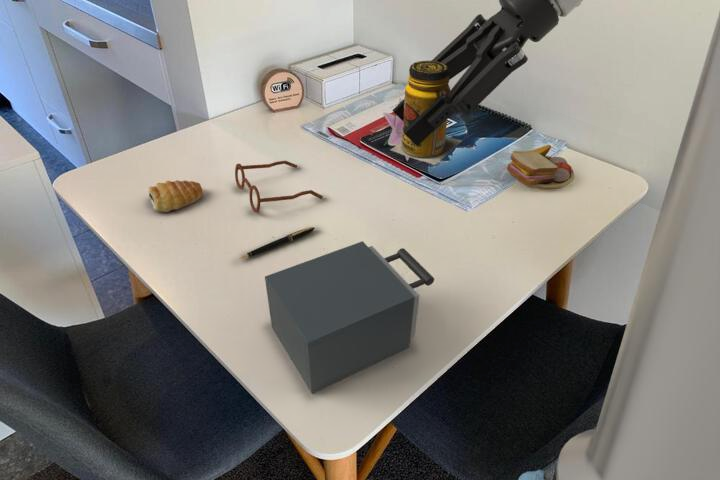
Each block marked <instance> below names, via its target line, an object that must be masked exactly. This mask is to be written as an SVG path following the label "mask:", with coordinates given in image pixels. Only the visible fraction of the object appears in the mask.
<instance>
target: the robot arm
mask: <svg viewBox="0 0 720 480" xmlns="http://www.w3.org/2000/svg"><path fill="white" fill-rule="evenodd" d="M583 1H584V0H498V3H499V5H500V6H501V7H500V10H499V11H498V12H496V13H495V14H493V15H492V16H490V17H488V18H487V19H486V18H485V17H484V16H483V14H480V13H479V14H477V15H476V16H475V17H474V18H473V20H472V21H471V22H470V23H469V24H468V26H467V27H466V28H465V29H464V30H462V32H460V33H459V34H458V35H457V36H456V37H455V38H454V39H453V40H452V41H451V42H450V43H449V44H447V46H446V47H444V48H443V49H442V50H441V51H440V52H439V53H437V55H435V56H434V58H433V59H432V60H431V61H437V62H441V63H444V64H446V65H447V66H448V67H449V70H450V74H449V81H451V80H452V79H454V78H455V77H456V76H457V75H459V74H460V73H462V72H464V73H463V74H462V76H461V77H460V78H459V79H458V80H457V82H456V83H455V84H454V86H453V87H452V88H450V92H449V93H448V94H447V95H446V94H441V96H440V97H439V98H438V99H437V100H436V101H435V102H434V103H433V104H432V105H431V106H430V107H429V108H428V109H427V110H425V111H424V112H423V113H422V114H421V115H420V116H419V117H418V118H417V119H416V120H415V121H414V122H413V123H412V124H411V125H410V126H409V127H407V128H406V129H405V130H404V131H403V132H404V134H405V135H406V136H407V137H408V138H409V139H410V140H411V141H412V142H413V143H414V144H416V145H417V146H418V145H419V144H420V143H421V142H422V141H424V140H425V139H426V138H427V137H428V136H429V135H430V134H431V133H432V132H433V131H434V130H435V129H437V128H438V127H439V126H440V125H442V124H443V123H444V122H445V121H446V120H447V121H448V120H449V118H451V116H453V115H454V114H462V115H463V116H464V117H466V116H468V115H470V114H471V112H473V111H474V110H475V109H476V108H477V107H478V106H479V105H480V104H481V103H482V102H483V101H484V100H485V99H486V98H488V97H489V95H490V94H491V93H492V92H494V91H495V90H496V89H497V88H498V87H499V85H501V84H502V83H503V82H504V81H505V80H506V79H507V78H508V77H509V76H510V75H511V74H512V73H513V72H515V71H516V70H517V69H519V68H521V67H522V66H523V65H525V64H526V63H527V62H528V60H529V58H528V56H527V55H526V53H525V52H524V51H523V47H524V46H525V44H526V43H527V41H528V40H530V41H531V42H533V43H538V42H540V41H541V40H543V38H545V37H546V36H547V35H548V34H549V33H550V32H551V31H552V30H554V28H556V27H557V26H558V25H559V21H560V18H559V17H561V18H566V17H567V16H568V15H569V14H571V12H573V10H575V9H576V8H578V7H579V6H580V5H581V4H582V2H583ZM464 70H465V71H464ZM404 99H405V97H403V99H402V101H401V102H400V103H399V102H398V104H397V105H396V106H395V107H393V108H392V113H394V114H395V116H396V115H397V116H398V117H399V118H400V119H401V120H402V121H403V119H404V116H403V114H404V101H405V100H404ZM657 217H658V218H657V221H656V224H655V228H654V231H653V234H652V238H651V242H650V245H649V248H648V252H647V255H646V259H645V261H644V265H643V269H642V272H641V275H640V277H639V282H638V285H637V288H636V292H635V295H634V298H633V302H632V305H631V309H630V311H629V315H628V319H627V322H626V325H625V328H624V329H625V330H624V333H623V336H622V339H621V343H620V346H619V348H618V349H619V350H618V353H617V356H616V360H615V364H614V366H613V370H612V374H611V376H610V380H609V383H608V386H607V390H606V392H605V396H604V400H603V403H602V406H601V410H600V414H599V418H598V421H597V424H596V427H595V428H592V429H587V430H585V431H582V432H580V433H578V434H576V435H575V436H572V437H571V438H569V440H568V441H567V442H566V443H564V445H563V447H562V448H561V450H560V452H559V455H558V457H557V461H556V464H555V468H554V472H553V474H549V473H547V471H546V470H542V469H538V470H536V471H526V472H523V473H522V474H521V475H520V476H519V477H518V479H517V480H720V11H718V15H717V19H716V22H715V25H714V29H713V33H712V35H711V39H710V42H709V46H708V48H707V52H706V56H705V59H704V62H703V66H702V69H701V72H700V77H699V79H698V83H697V86H696V90H695V93H694V96H693V100H692V103H691V106H690V110H689V113H688V117H687V120H686V124H685V127H684V129H683V133H682V137H681V140H680V143H679V146H678V151H677V153H676V157H675V160H674V163H673V166H672V171H671V174H670V178H669V181H668V184H667V188H666V190H665V194H664V197H663V200H662V204H661V208H660V211H659V214H658V216H657Z"/></svg>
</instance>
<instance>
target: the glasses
mask: <svg viewBox="0 0 720 480" xmlns="http://www.w3.org/2000/svg"><path fill="white" fill-rule="evenodd" d="M279 165H287V166H289V167H290V168H294V169H297V168H298V164H295V163H293V162H291V161H288V160H278V161H274V162H271V163H265V164H264V163H263V164H247V165H242V164H241V163H236V165H235V167H234V179H235V182H236V186H237V188H238V189H239V190H243V189H244V188H245V185H246V186H247V188H248V190H249V195H248V196H249V205H250V207H251V210H252V212H254V213H255V214H256V213H259V212H260V209H261V203H269V202H279V201H280V202H281V201H288V200H295V199H297V198H299V197H301V196H302V197H303V196H305V195H306V196H307V195H311V196H314V197H316V198H318V199H319V200H323V198H324V196H323V195H322V194H320V193H318V192H316V191H314V190H312V189H309V190H304V191H300V192H297V193H295V194H292V195H283V196H282V195H281V196H272V197H263V198H262V197H261V194H260V192H259V189H258V187H257V186H256V185H254V184H253V185H252V184H251V183H250V180H248V178H247V177H246V174H245V170H253V169H254V170H255V169H268V168H269V169H270V168H272V167H275V166H279ZM239 170H240V173H241V184H240V180H239ZM253 192H255V196H256V200H257V201H256V207H255V204H254V201H253Z"/></svg>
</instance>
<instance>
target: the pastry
mask: <svg viewBox="0 0 720 480" xmlns="http://www.w3.org/2000/svg"><path fill="white" fill-rule="evenodd" d="M147 194H148V197H149V198H150V200H151V201H150V204H151V205H152V208H153V210H154V211H157V212H162V213H169V212H171V211H173V210H180V209H182V208H184V207H188V205H192V204H193V203H196V201H198V200H199V199H200V198H202V197H203V195H204V191H203V187H202V185H201V183H200V182H196V181H194V180H193V181H192V180H178V179H176V180H173V181H170V180H165V182H157V183H156V184H155V185H154V186H149V187H148V191H147Z"/></svg>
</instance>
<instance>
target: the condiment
mask: <svg viewBox="0 0 720 480" xmlns="http://www.w3.org/2000/svg"><path fill="white" fill-rule="evenodd" d="M408 72H409V73H408V77H407V81H408V83H407V84H406V86H405V89H404V98H405V99H404V98H403V99H404V100H405V101H404V114H403V116H404V119H403V131H404V130H405V129H406V128H407V127H409V126H410V125H411V124H412V123H413V122H414V121H415V120H416V119H417V118H418V117H419V116H420V115H421V114H422V113H423V112H424V111H425V110H427V109H428V108H429V107H430V106H431V105H432V104H433V103H434V102H435V101H436V100H437V99H438V98H439V97H440V96H441V94H446V95H447V94H448V93H449V92H450V91H451V87H450V85H449V83H450V80H449V74H450V70H449V67H448V66H447V65H446V64H444V63H441V62H437V61H432V60H419V61H416V62H413V63H412V64H411V65H410V67H409V69H408ZM447 125H448V119H447V120H446V121H445V122H444V123H443V124H442V125H440V126H439V127H438V128H437V129H435V130H434V131H433V132H432V133H431V134H430V135H429V136H428V137H427V138H426V139H425V140H424V141H422V142H421V143H420V144H419V145H418V146H417V145H416V144H414V143H413V142H412V141H411V140H410V139H409V138H408V137H407V136H406V135H405V134H404V132H403V134H402V142H400V143H399V144H398V145H397V146H394V147H392V148H390V151H391V152H393V153H396V154H399V155H401V156H404V157H405V156H407V157H409V159H414V160H417V161H420V162H425V163H427V164H430V165H433V166H436V164H438V163H439V162H440V161H441V160H443V159H444V158H445V157H447V155H449V153H451V151H453V150H454V149H455V148H457V147H458V146H459V144H460V143H462V142H463V140H462V139H457V138H453V137H449V136H447Z"/></svg>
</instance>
